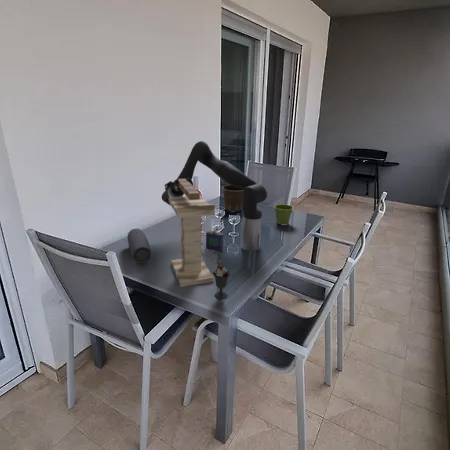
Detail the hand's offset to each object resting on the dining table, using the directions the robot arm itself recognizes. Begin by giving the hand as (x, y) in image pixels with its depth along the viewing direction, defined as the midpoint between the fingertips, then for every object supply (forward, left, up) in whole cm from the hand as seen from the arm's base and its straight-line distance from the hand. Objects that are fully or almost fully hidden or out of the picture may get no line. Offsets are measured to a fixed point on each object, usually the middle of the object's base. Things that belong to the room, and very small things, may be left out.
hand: (183, 180), depth 136 cm
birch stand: (-6, +11, -38) cm, 40 cm away
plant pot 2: (-45, -60, -39) cm, 84 cm away
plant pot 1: (-11, -79, -39) cm, 88 cm away
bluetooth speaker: (+23, 0, -39) cm, 45 cm away
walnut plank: (-4, +7, -3) cm, 8 cm away
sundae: (-22, +25, -39) cm, 51 cm away
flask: (-11, -15, -39) cm, 43 cm away
